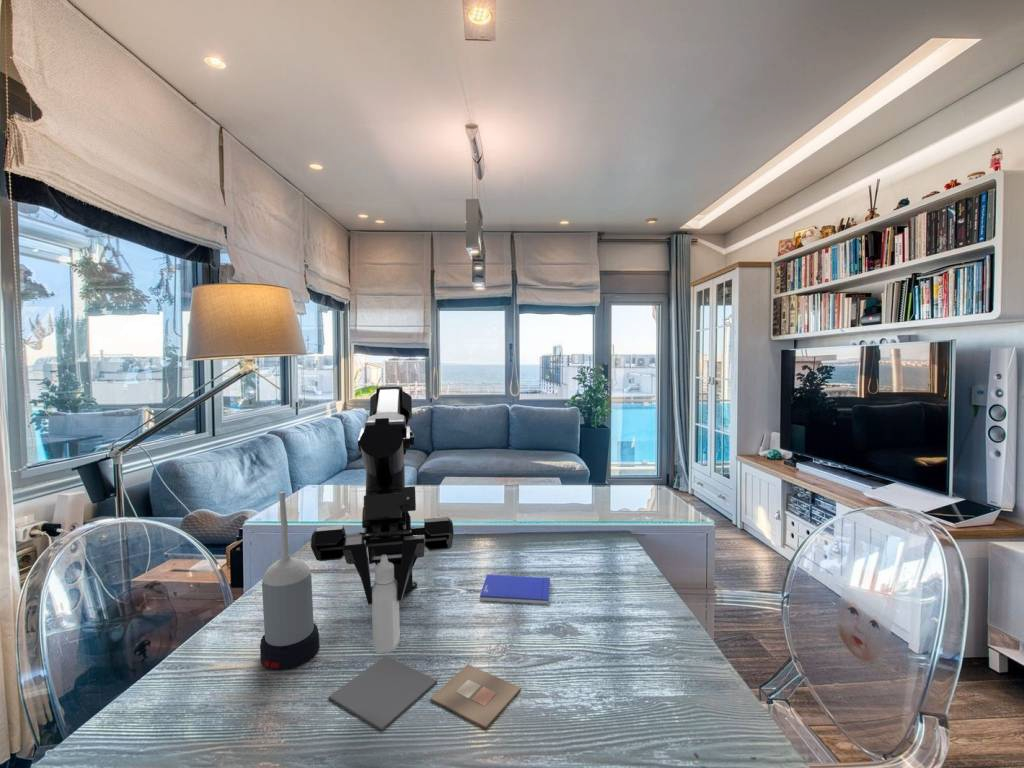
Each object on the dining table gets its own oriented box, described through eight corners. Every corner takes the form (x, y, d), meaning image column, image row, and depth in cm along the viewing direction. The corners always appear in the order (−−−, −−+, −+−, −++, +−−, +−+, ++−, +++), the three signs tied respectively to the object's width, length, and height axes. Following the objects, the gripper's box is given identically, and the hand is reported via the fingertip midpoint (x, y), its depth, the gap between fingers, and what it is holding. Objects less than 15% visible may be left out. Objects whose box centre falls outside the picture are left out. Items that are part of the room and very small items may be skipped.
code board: (430, 700, 65) (430, 697, 65) (467, 665, 72) (467, 663, 72) (485, 729, 60) (485, 726, 60) (520, 689, 67) (520, 687, 67)
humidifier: (257, 676, 70) (247, 504, 67) (263, 643, 77) (254, 487, 75) (319, 662, 73) (312, 496, 70) (319, 631, 80) (312, 481, 78)
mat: (328, 698, 65) (328, 696, 65) (386, 657, 74) (386, 655, 74) (381, 730, 60) (381, 728, 60) (437, 682, 68) (436, 680, 68)
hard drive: (479, 594, 90) (548, 598, 88) (486, 573, 98) (549, 576, 96) (479, 603, 90) (548, 606, 88) (486, 580, 98) (549, 584, 97)
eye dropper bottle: (412, 632, 68) (410, 549, 67) (388, 658, 63) (385, 568, 62) (385, 626, 70) (382, 544, 68) (359, 650, 65) (356, 562, 63)
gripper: (309, 470, 66) (296, 591, 56) (451, 461, 70) (460, 574, 60) (322, 506, 74) (312, 617, 65) (447, 497, 78) (455, 601, 69)
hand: (384, 602), depth 64 cm, fingers closed on eye dropper bottle, 3 cm apart
